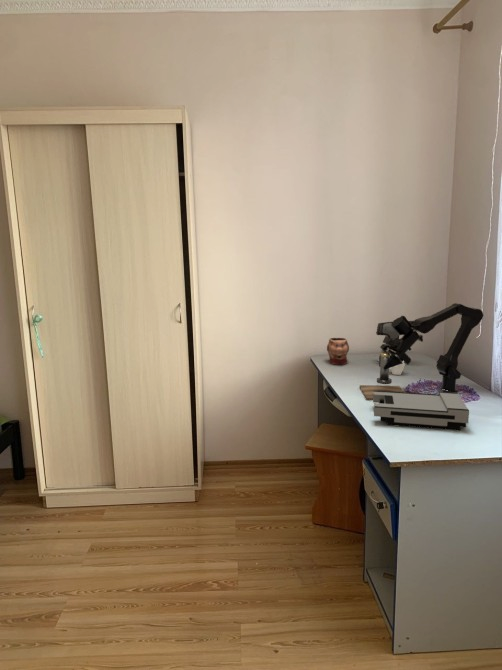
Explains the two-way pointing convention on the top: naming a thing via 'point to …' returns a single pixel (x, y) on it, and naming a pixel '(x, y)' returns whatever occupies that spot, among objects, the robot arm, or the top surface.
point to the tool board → (369, 389)
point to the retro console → (421, 409)
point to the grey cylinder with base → (384, 373)
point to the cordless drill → (387, 332)
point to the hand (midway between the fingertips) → (381, 367)
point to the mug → (397, 369)
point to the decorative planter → (338, 350)
